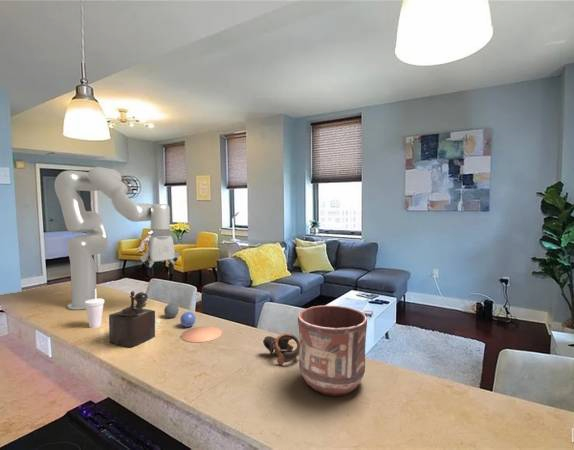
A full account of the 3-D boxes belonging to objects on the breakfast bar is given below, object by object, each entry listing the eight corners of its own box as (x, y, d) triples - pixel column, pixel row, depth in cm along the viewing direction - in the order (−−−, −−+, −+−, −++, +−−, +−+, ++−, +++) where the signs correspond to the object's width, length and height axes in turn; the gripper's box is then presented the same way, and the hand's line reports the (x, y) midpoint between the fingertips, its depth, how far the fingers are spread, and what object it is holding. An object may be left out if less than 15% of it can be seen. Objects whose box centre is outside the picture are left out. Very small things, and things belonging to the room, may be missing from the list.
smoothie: (108, 323, 125) (108, 287, 124) (97, 329, 118) (96, 291, 118) (93, 322, 125) (92, 286, 125) (81, 329, 119) (80, 291, 118)
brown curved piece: (301, 352, 103) (306, 335, 99) (293, 378, 95) (297, 361, 91) (265, 339, 105) (268, 322, 101) (255, 364, 97) (257, 347, 93)
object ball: (178, 326, 123) (178, 311, 123) (192, 322, 126) (192, 308, 126) (183, 330, 119) (183, 315, 118) (198, 327, 122) (197, 312, 122)
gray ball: (162, 316, 133) (162, 303, 133) (175, 314, 136) (175, 301, 136) (166, 320, 129) (166, 306, 128) (180, 317, 132) (180, 304, 132)
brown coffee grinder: (106, 343, 107) (105, 289, 106) (134, 331, 117) (133, 282, 116) (141, 352, 101) (140, 295, 100) (167, 339, 111) (166, 287, 110)
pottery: (297, 365, 94) (298, 303, 93) (359, 367, 93) (361, 305, 92) (296, 402, 76) (296, 327, 75) (372, 406, 75) (374, 330, 74)
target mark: (175, 332, 117) (175, 332, 116) (211, 324, 125) (211, 323, 125) (190, 346, 106) (190, 345, 106) (228, 335, 114) (228, 335, 114)
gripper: (142, 235, 129) (143, 279, 130) (184, 232, 141) (184, 273, 142) (135, 233, 134) (136, 276, 135) (176, 231, 146) (176, 270, 147)
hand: (161, 274), depth 138 cm, fingers open, 7 cm apart
